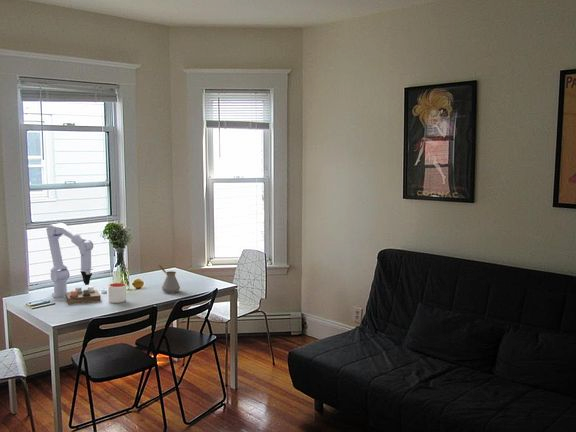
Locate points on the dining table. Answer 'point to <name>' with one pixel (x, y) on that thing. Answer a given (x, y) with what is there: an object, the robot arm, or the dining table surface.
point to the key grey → (78, 290)
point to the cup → (117, 292)
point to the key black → (86, 293)
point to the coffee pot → (170, 282)
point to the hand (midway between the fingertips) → (86, 283)
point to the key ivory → (91, 289)
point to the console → (83, 298)
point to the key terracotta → (73, 294)
